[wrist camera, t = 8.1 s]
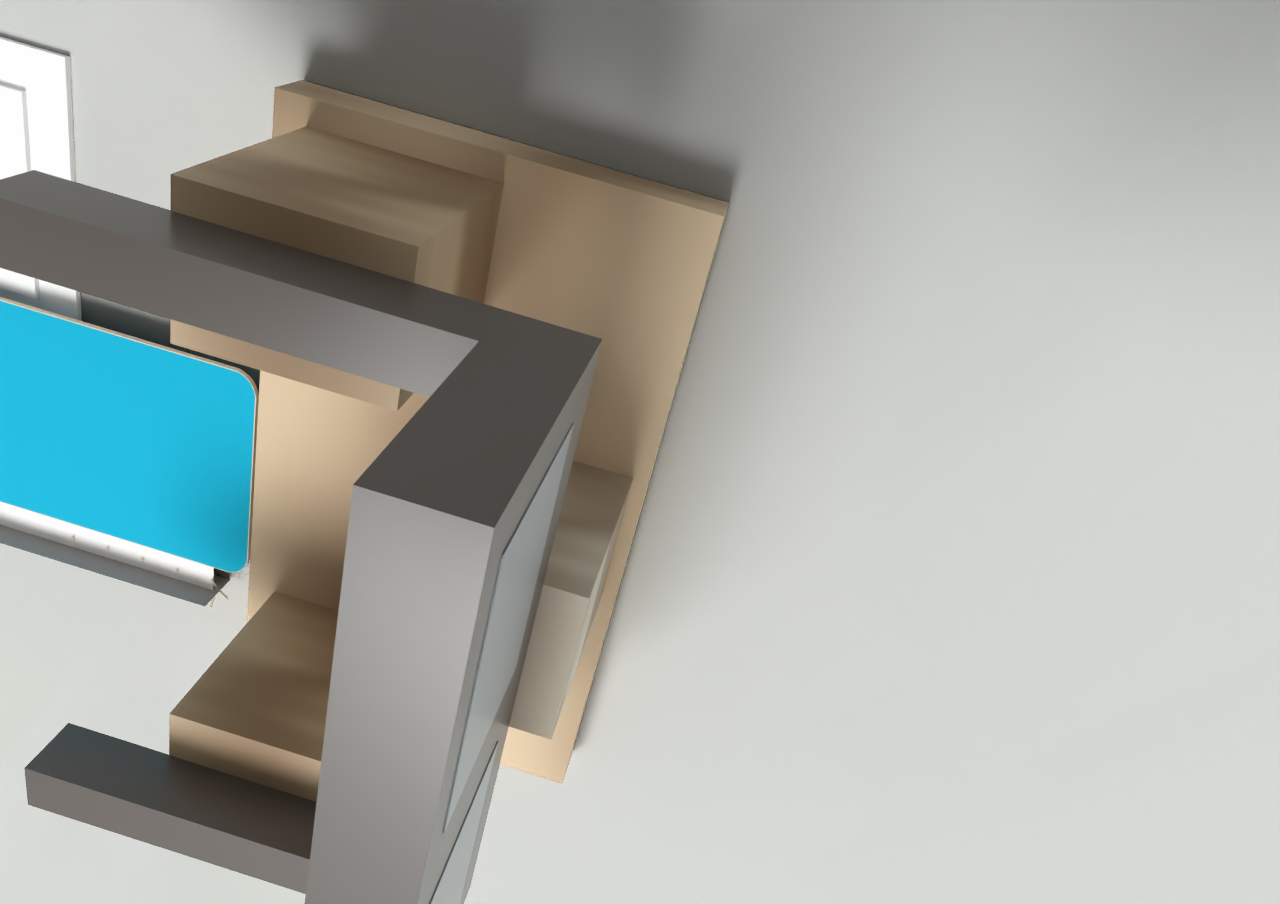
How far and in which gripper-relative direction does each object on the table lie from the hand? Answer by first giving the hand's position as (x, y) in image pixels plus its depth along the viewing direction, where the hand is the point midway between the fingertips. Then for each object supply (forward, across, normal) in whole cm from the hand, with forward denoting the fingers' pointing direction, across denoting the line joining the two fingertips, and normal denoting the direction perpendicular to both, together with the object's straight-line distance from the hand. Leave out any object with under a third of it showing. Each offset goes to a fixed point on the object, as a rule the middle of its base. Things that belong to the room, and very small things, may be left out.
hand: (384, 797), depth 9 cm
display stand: (+11, +3, +4) cm, 12 cm away
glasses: (+6, +4, +4) cm, 9 cm away
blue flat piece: (+12, +13, +4) cm, 18 cm away
